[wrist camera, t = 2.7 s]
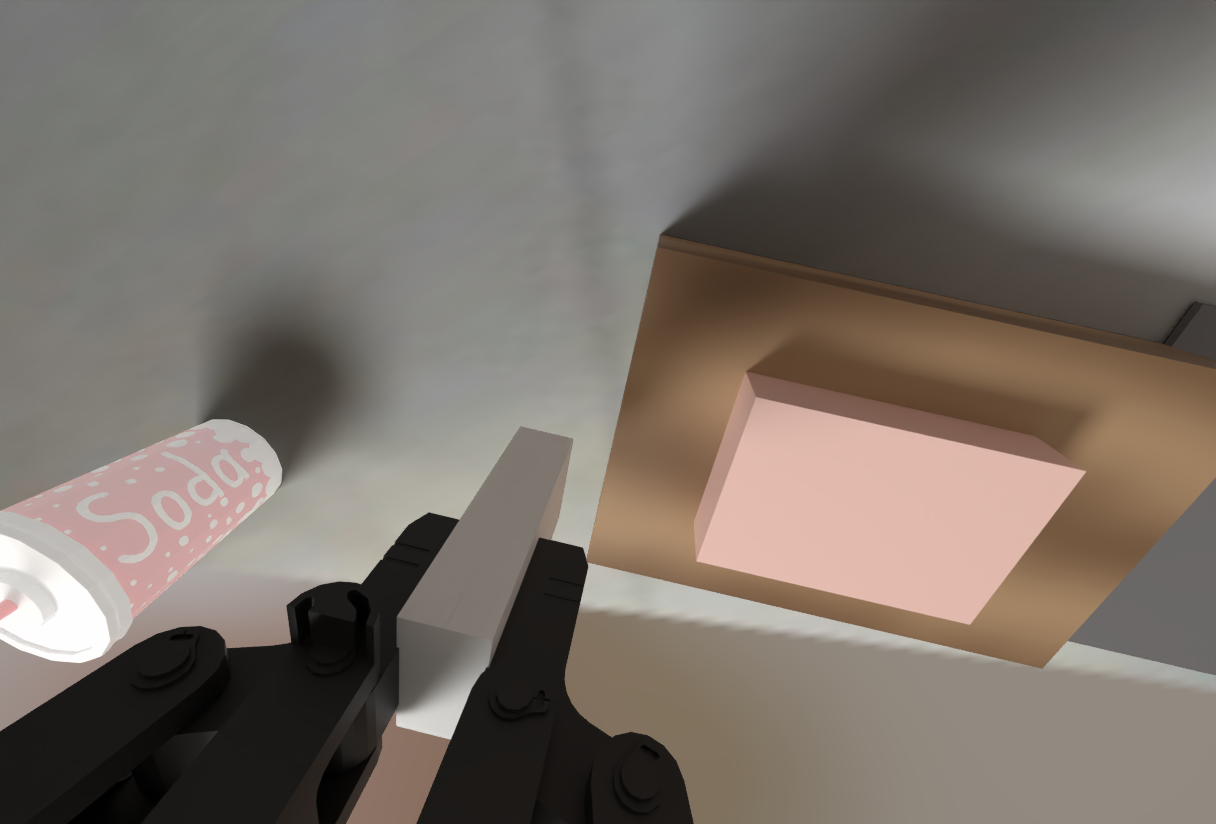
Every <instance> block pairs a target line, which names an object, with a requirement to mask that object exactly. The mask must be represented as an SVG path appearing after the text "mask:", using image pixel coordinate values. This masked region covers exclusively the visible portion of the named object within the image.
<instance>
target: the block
mask: <svg viewBox="0 0 1216 824" xmlns="http://www.w3.org/2000/svg"><path fill="white" fill-rule="evenodd" d="M1085 473H1086V471H1085V470H1084V469H1082V468H1081V467H1080V466H1078V465H1077V464H1075V463H1074V462H1072V461H1071V460H1069V459H1068V458H1066V457H1065V456H1064V455H1062V454H1061V453H1059V452H1058V451H1056V450H1055V449H1053V448H1052V447H1050V446H1049V445H1048V444H1046V443H1045V442H1043V441H1042V440H1040V439H1039V438H1037V437H1036V436H1032V435H1028V434H1023V433H1019V432H1014V431H1010V430H1005V429H1001V428H996V427H992V426H988V425H983V424H979V423H974V422H970V421H965V420H961V419H956V418H952V417H947V416H943V415H938V414H934V413H929V412H925V411H920V410H916V409H911V408H907V407H902V406H898V405H893V404H889V403H885V402H880V401H876V400H871V399H867V398H862V397H858V396H853V395H849V394H844V393H840V392H835V391H831V390H826V389H822V388H817V387H813V386H808V385H804V384H799V383H795V382H790V381H786V380H781V379H777V378H773V377H768V376H764V375H759V374H755V373H750V372H745V375H744V378H743V381H742V384H741V386H740V389H739V392H738V395H737V398H736V401H735V404H734V407H733V410H732V413H731V416H730V418H729V421H728V424H727V427H726V430H725V433H724V436H723V439H722V442H721V445H720V448H719V450H718V453H717V456H716V459H715V462H714V465H713V468H712V471H711V474H710V477H709V480H708V482H707V485H706V488H705V491H704V494H703V497H702V500H701V503H700V506H699V509H698V512H697V514H696V517H695V520H694V534H695V549H696V561H697V562H702V563H706V564H710V565H714V566H719V567H723V568H727V569H732V570H736V571H740V572H745V573H749V574H753V575H757V576H762V577H766V578H770V579H775V580H779V581H783V582H788V583H792V584H796V585H800V586H805V587H809V588H813V589H818V590H822V591H826V592H831V593H835V594H839V595H844V596H848V597H852V598H856V599H861V600H865V601H869V602H874V603H878V604H882V605H887V606H891V607H895V608H899V609H904V610H908V611H912V612H917V613H921V614H925V615H930V616H934V617H938V618H942V619H947V620H951V621H955V622H960V623H964V624H968V625H970V624H971V623H972V622H973V620H974V619H975V618H976V616H977V615H978V614H979V612H980V611H981V610H982V608H983V607H984V606H985V604H986V603H987V602H988V601H989V599H990V598H991V597H992V595H993V594H994V593H995V591H996V590H997V589H998V587H999V586H1000V585H1001V583H1002V582H1003V581H1004V579H1005V578H1006V577H1007V575H1008V574H1009V573H1010V572H1011V570H1012V569H1013V568H1014V566H1015V565H1016V564H1017V562H1018V561H1019V560H1020V558H1021V557H1022V556H1023V554H1024V553H1025V552H1026V550H1027V549H1028V548H1029V546H1030V545H1031V544H1032V543H1033V541H1034V540H1035V539H1036V537H1037V536H1038V535H1039V533H1040V532H1041V531H1042V529H1043V528H1044V527H1045V525H1046V524H1047V523H1048V521H1049V520H1050V519H1051V517H1052V516H1053V515H1054V514H1055V512H1056V511H1057V510H1058V508H1059V507H1060V506H1061V504H1062V503H1063V502H1064V500H1065V499H1066V498H1067V496H1068V495H1069V494H1070V492H1071V491H1072V490H1073V488H1074V487H1075V486H1076V485H1077V483H1078V482H1079V481H1080V479H1081V478H1082V477H1083V475H1084V474H1085Z"/></svg>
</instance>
